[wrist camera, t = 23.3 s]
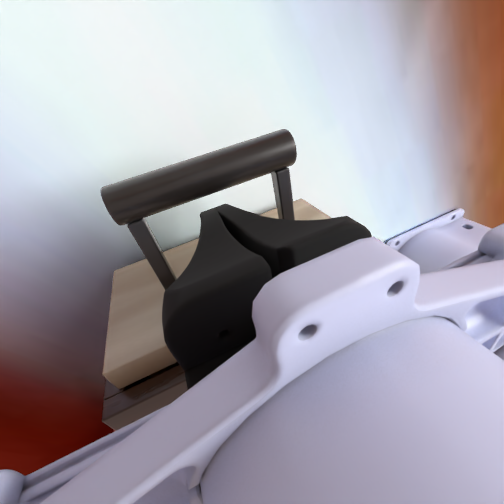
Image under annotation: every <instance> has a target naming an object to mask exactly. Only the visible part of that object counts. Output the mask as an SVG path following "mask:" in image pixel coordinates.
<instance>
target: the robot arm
mask: <svg viewBox="0 0 504 504" xmlns="http://www.w3.org/2000/svg"><path fill="white" fill-rule="evenodd" d="M463 214H464V209H461V208H459V209H456V210H454V211H452V212H450V213H448V214H445V215H443V216H441V217H439V218H437V219H434V220H432V221H430V222H428V223H426V224H423V225H421V226H419V227H417V228H415V229H412V230H410V231H408V232H406V233H404V234H401V235H399V236H397V237H395V238H393V239H390V240H389V241H388V242H387V243H386V244H385V243H383V242H382V241H380V240H378V239H377V238H375V237H372V236H371V233H370V231H369V230H368V229H367V228H366V227H365V226H363V225H361V224H360V223H358V222H356V221H355V220H353V219H351V218H350V217H348V216H344V217H337V218H329V219H320V220H286V219H277V218H270V217H265V216H261V215H257V214H254V213H250V212H247V211H244V210H242V209H239V208H236V207H233V206H231V205H228V204H224V205H221V206H218V207H215V208H212V209H210V210H207V211H204V212H201V214H200V218H201V230H200V236H199V241H198V244H197V247H196V250H195V253H194V255H193V257H192V259H191V261H190V263H189V264H188V266H187V267H186V269H185V270H184V271H183V272H182V274H181V275H180V276H179V277H178V278H177V279H176V280H175V281H174V282H173V283H172V284H171V285H170V286H169V287H168V288H167V289H166V290H165V292H164V297H163V306H162V326H163V334H164V340H165V343H166V345H167V347H168V349H169V351H170V352H171V353H172V355H173V356H174V358H175V359H176V360H177V362H178V363H179V365H180V366H181V367H182V369H183V370H184V373H185V378H186V383H187V389H188V391H186V392H185V393H184V394H182V395H181V396H180V397H179V398H177V399H176V400H175V401H173V402H172V403H171V404H169V405H167V406H165V407H163V408H161V409H159V410H157V411H155V412H153V413H151V414H149V415H147V416H145V417H143V418H141V419H139V420H137V421H135V422H133V423H131V424H129V425H127V426H125V427H123V428H121V429H119V430H117V431H115V432H113V433H111V434H109V435H107V436H105V437H103V438H101V439H99V440H97V441H95V442H93V443H91V444H89V445H87V446H85V447H83V448H81V449H79V450H77V451H75V452H73V453H71V454H69V455H67V456H65V457H63V458H61V459H59V460H57V461H55V462H53V463H51V464H49V465H47V466H45V467H43V468H41V469H39V470H37V471H35V472H33V473H31V474H29V475H27V476H24V475H22V474H21V473H19V472H17V471H14V470H7V469H5V470H0V504H504V223H503V224H501V225H499V226H497V227H495V228H493V229H491V228H488V227H486V226H483V225H481V224H478V223H475V222H473V221H470V220H468V219H465V218H462V217H463Z"/></svg>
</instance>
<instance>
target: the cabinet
mask: <svg viewBox="0 0 504 504" xmlns="http://www.w3.org/2000/svg"><path fill="white" fill-rule="evenodd" d="M186 391H188V389H187V383H186V378H185V373H184V370H183V369H182V367H181V366H180V365H178V366H176V367H174V368H172V369H169V370H167V371H165V372H163V373H161V374H159V375H157V376H155V377H153V378H151V376H150V375H149V376H146V377H144V378H142V379H140V380H138V381H136V382H134V383H132V384H130V385H127V386H125V387H123V388H121V389H118V388H116V387H115V386H114V385H113V384H112V383H111V382H110V381H108V380H107V379H106V378H105V388H104V402H103V411H102V422H103V423H105V424H106V425H108V426H109V427H111V428H112V429H114V430H115V431H117V430H119V429H121V428H123V427H125V426H127V425H129V424H131V423H133V422H135V421H137V420H139V419H141V418H143V417H145V416H147V415H149V414H151V413H153V412H155V411H157V410H159V409H161V408H163V407H165V406H167V405H169V404H171V403H172V402H173V401H175V400H176V399H177V398H179V397H180V396H181V395H182V394H184V393H185V392H186Z"/></svg>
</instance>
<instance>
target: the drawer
mask: <svg viewBox="0 0 504 504" xmlns="http://www.w3.org/2000/svg"><path fill="white" fill-rule="evenodd" d="M296 155H297V153H296V145H295V142H294V139H293V137H292V135H291V133H290V132H289V131H288V130H286V129H281V130H278V131H275V132H272V133H269V134H266V135H263V136H260V137H257V138H254V139H250V140H247V141H244V142H241V143H238V144H235V145H232V146H229V147H226V148H222V149H219V150H216V151H213V152H210V153H207V154H204V155H201V156H198V157H195V158H191V159H188V160H185V161H182V162H179V163H176V164H173V165H170V166H167V167H163V168H160V169H157V170H154V171H151V172H148V173H145V174H142V175H139V176H136V177H132V178H129V179H126V180H123V181H120V182H117V183H114V184H111V185H108V186H104V187H102V188H101V196H102V199H103V202H104V204H105V206H106V208H107V210H108V212H109V214H110V215H111V217H112V218H113V220H114V221H115V222H116V223H117V224H118V225H125V224H128V228H129V230H130V232H131V233H132V235H133V237H134V238H135V240H136V242H137V243H138V245H139V247H140V249H141V250H142V252H143V254H144V255H145V257H146V259H143V260H141V261H138V262H135V263H133V264H130V265H128V266H125V267H123V268H120V269H117V270H115V271H114V274H113V283H112V292H111V301H110V310H109V319H108V328H107V337H106V346H105V355H104V365H103V376H104V377H105V378H106V379H107V380H108V381H110V382H111V383H112V384H113V385H114V386H115V387H116V388H118V389H121V388H123V387H125V386H127V385H130V384H132V383H134V382H136V381H138V380H140V379H142V378H144V377H146V376H149V375H150V376H151V378H153V377H155V376H157V375H159V374H161V373H163V372H165V371H167V370H169V369H172V368H174V367H176V366H178V365H179V363H178V362H177V360H176V359H175V358H174V356H173V355H172V353H171V352H170V351H169V349H168V347H167V345H166V343H165V340H164V334H163V326H162V306H163V297H164V292H165V290H166V289H167V288H168V287H169V286H170V285H171V284H172V283H173V282H174V281H175V280H176V279H177V278H178V277H179V276H180V275H181V274H182V272H183V271H184V270H185V269H186V267H187V266H188V264H189V263H190V261H191V259H192V257H193V255H194V253H195V250H196V247H197V244H198V241H199V238H198V239H195V240H192V241H190V242H187V243H185V244H182V245H180V246H177V247H174V248H172V249H169V250H167V251H164V252H162V250H161V248H160V246H159V244H158V242H157V240H156V238H155V236H154V234H153V233H152V231H151V229H150V227H149V225H148V223H147V221H146V219H145V217H148V216H150V215H153V214H156V213H159V212H162V211H165V210H167V209H170V208H173V207H176V206H179V205H181V204H184V203H187V202H190V201H193V200H196V199H198V198H201V197H204V196H207V195H210V194H212V193H215V192H218V191H221V190H224V189H227V188H229V187H232V186H235V185H238V184H241V183H243V182H246V181H249V180H252V179H255V178H258V177H260V176H263V175H266V174H269V173H271V174H272V181H273V187H274V193H275V199H276V205H277V208H275V209H273V210H270V211H268V212H265V213H262V214H260V215H261V216H265V217H270V218H277V219H286V220H320V219H329V218H331V217H330V216H328V215H326V214H325V213H323V212H322V211H320V210H319V209H317V208H316V207H314V206H312V205H311V204H309V203H308V202H306V201H305V200H303V199H299V200H296V201H293V199H292V191H291V182H290V174H289V168H287V167H288V166H291V165H293V164H294V163H295V161H296Z"/></svg>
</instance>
